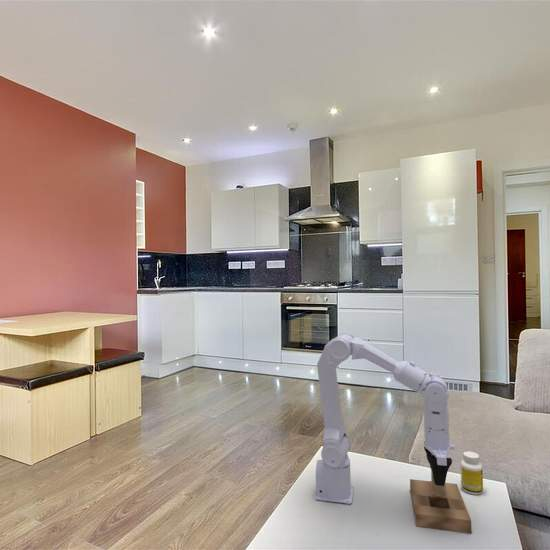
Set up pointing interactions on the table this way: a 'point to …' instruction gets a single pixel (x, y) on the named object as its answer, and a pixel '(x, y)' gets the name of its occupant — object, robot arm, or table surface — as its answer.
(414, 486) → the walnut socket board
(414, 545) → the table surface
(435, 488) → the beech peg
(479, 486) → the supplement bottle
